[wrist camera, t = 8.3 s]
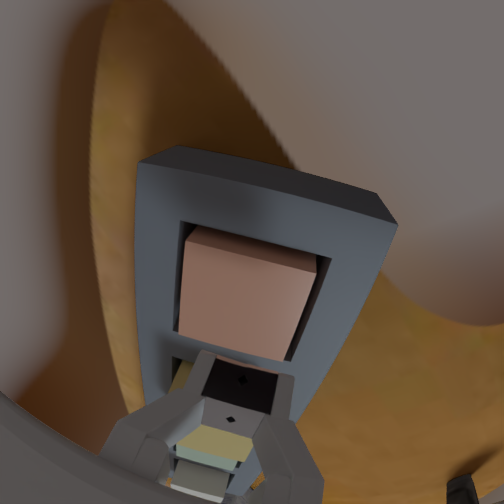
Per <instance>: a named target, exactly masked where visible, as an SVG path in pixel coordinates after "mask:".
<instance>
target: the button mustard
mask: <svg viewBox="0 0 504 504" xmlns="http://www.w3.org/2000/svg"><path fill="white" fill-rule="evenodd" d="M193 365H194V363H193V362H189V361H186V360H182V362H181V364H180V367H179V369H178V371H177V373H176V376H175V378H174V380H173V382H172V385H171V387H170V389H169V392H168V393H170V392H172V391H173V390H175V389H177V388H180V389H183V388H184V385H185V383H186V381H187V379H188V376H189V374H190V372H191V370H192V368H193ZM176 444H178V445H181V446H184V447H187V448H190V449H194V450H197V451H201V452H204V453H208V454H212V455H216V456H220V457H224V458H228V459H232V460H236V461H241V462H245V460H246V458H247V457H248V455H249V453H250V451H251V449H252V447H253V443H252V439H251V438H247V437H243V436H240V435H237V434H233V433H230V432H227V431H223V430H219V429H216V428H212V427H209V426H205V425H202V424H201V426H199V427H198V428H197V429H195V430H194V431H193V432H191V433H190V434H189V435H187V436H186V437H184V438H183V439H182V440H180V441H179V442H177V443H176Z"/></svg>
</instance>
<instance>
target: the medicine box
mask: <svg viewBox="0 0 504 504" xmlns="http://www.w3.org/2000/svg"><path fill="white" fill-rule="evenodd" d="M252 491H253V490H252V489H251V487H249V488H248V490H247V491H246V492H245V493H244V495H243V496H238V495H234V494H229V493H225V495H224V499H223V500H222V502H221V504H247V503H248V499H249V495H250V493H251V492H252Z"/></svg>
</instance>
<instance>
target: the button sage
mask: <svg viewBox="0 0 504 504" xmlns="http://www.w3.org/2000/svg"><path fill="white" fill-rule="evenodd" d="M176 456H179V457H182V458H185V459H189V460H192V461H195V462H199V463H203V464H206V465H210V466H214V467H218V468H222V469H226V470H230V471H233V470H234V468H235V466H236V464H237V462H238V461H236V460H232V459H228V458H224V457H220V456H216V455H212V454H208V453H204V452H201V451H197V450H194V449H190V448H187V447H184V446H181V445H178V444H176Z"/></svg>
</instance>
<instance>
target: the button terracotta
mask: <svg viewBox="0 0 504 504" xmlns="http://www.w3.org/2000/svg"><path fill="white" fill-rule="evenodd" d="M315 277H316V254H314V253H310V252H306V251H302V250H298V249H294V248H290V247H286V246H282V245H279V244H275V243H271V242H267V241H263V240H259V239H255V238H251V237H247V236H243V235H238V234H234V233H230V232H226V231H222V230H218V229H214V228H210V227H206V226H202V225H198V226H197V227H196V228H195V229H194V230H193V232H192V233H191V234H190V236H189V237H188V238H187V239H186V241H185V250H184V261H183V273H182V285H181V299H180V314H179V332H178V334H179V335H182V336H186V337H189V338H192V339H196V340H199V341H203V342H206V343H210V344H213V345H217V346H220V347H224V348H228V349H232V350H235V351H239V352H243V353H247V354H251V355H255V356H259V357H263V358H268V359H272V360H276V361H281V362H283V360H284V357H285V355H286V352H287V350H288V347H289V345H290V342H291V340H292V337H293V335H294V332H295V330H296V327H297V325H298V322H299V320H300V317H301V314H302V312H303V309H304V306H305V304H306V301H307V298H308V296H309V293H310V290H311V288H312V285H313V282H314V279H315Z"/></svg>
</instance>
